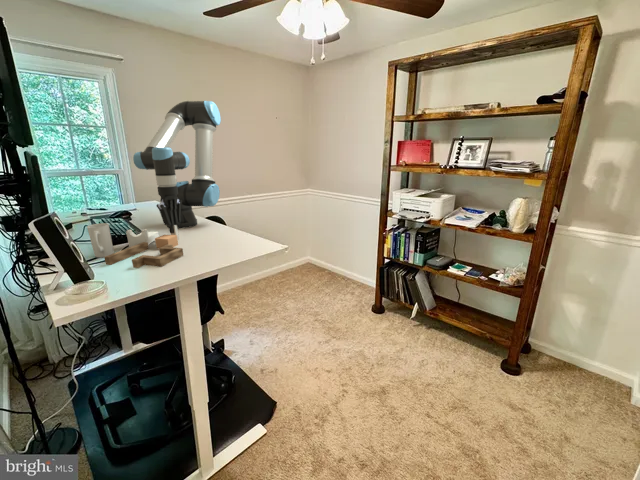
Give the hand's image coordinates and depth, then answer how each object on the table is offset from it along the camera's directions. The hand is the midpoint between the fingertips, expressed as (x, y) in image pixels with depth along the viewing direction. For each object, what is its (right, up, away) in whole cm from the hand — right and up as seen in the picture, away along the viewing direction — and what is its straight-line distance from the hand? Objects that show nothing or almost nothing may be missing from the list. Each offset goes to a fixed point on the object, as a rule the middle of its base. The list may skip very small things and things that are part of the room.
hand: (175, 239), depth 133 cm
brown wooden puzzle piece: (-1, -7, -18) cm, 19 cm away
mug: (-21, -7, -15) cm, 27 cm away
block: (-1, -3, -4) cm, 5 cm away
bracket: (-14, -2, +1) cm, 14 cm away
